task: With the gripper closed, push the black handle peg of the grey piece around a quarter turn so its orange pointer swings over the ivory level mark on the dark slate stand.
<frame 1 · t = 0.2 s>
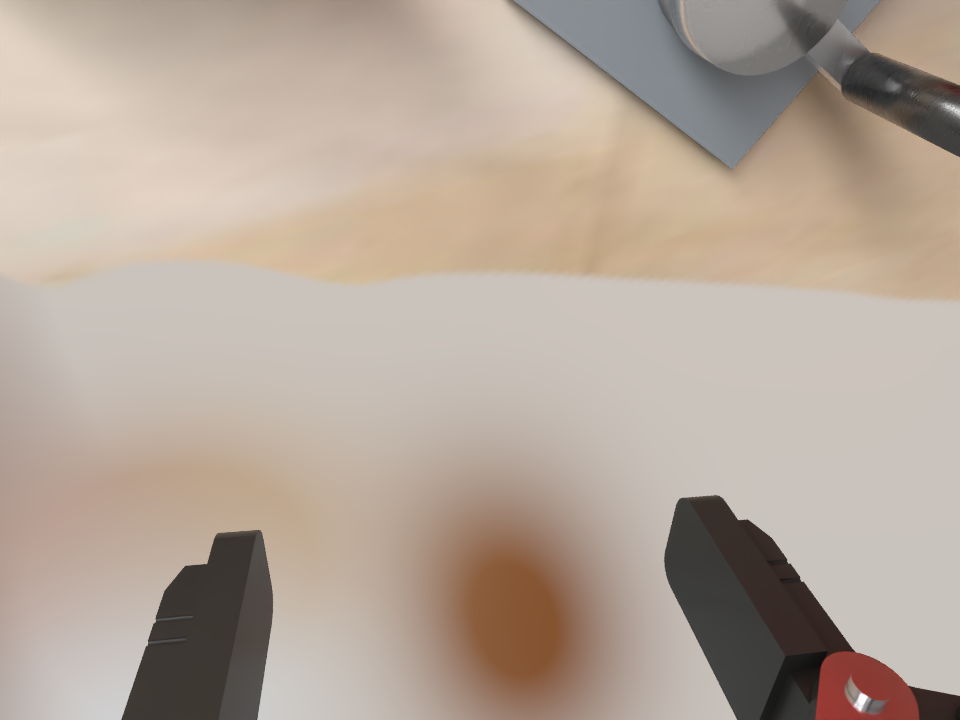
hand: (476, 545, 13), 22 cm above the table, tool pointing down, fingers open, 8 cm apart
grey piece: (812, 0, 21), point 8 cm above the table, hinge at 0.0°
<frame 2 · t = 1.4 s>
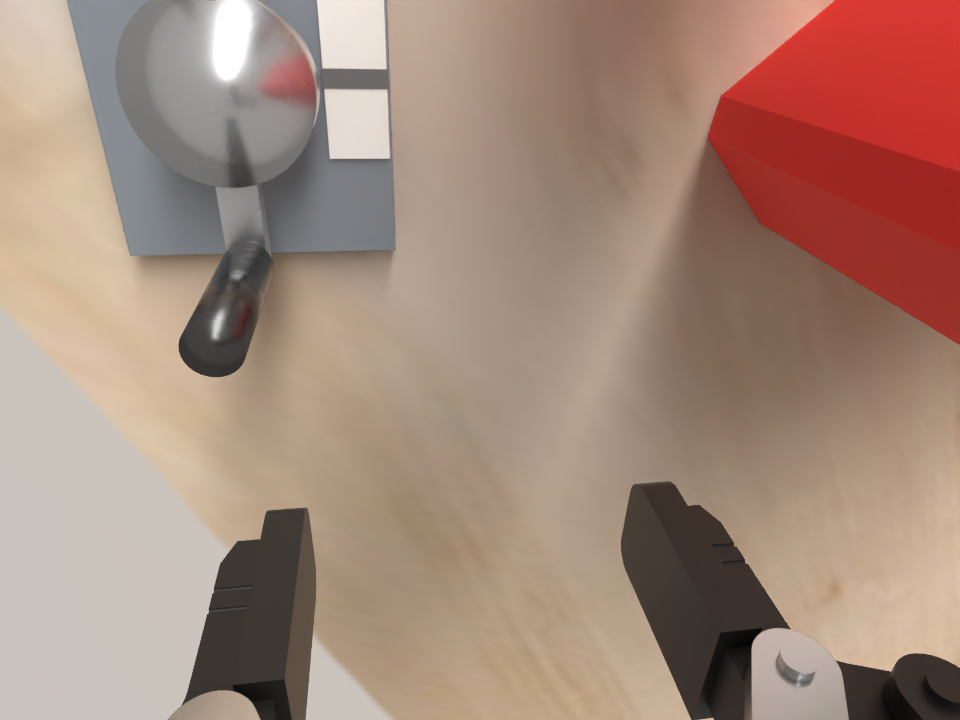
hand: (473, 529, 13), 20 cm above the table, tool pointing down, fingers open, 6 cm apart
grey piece: (207, 118, 19), point 8 cm above the table, hinge at 0.0°
stand: (248, 71, 26), on the table
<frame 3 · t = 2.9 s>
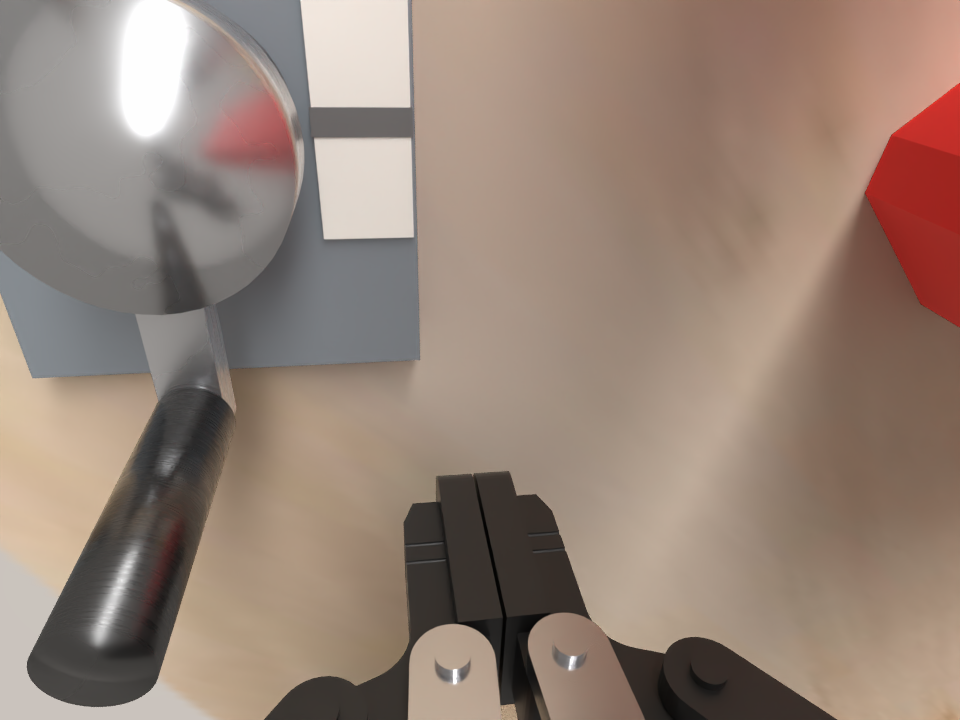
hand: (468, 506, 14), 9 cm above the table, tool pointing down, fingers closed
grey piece: (90, 224, 10), point 8 cm above the table, hinge at 0.0°
stand: (200, 109, 17), on the table
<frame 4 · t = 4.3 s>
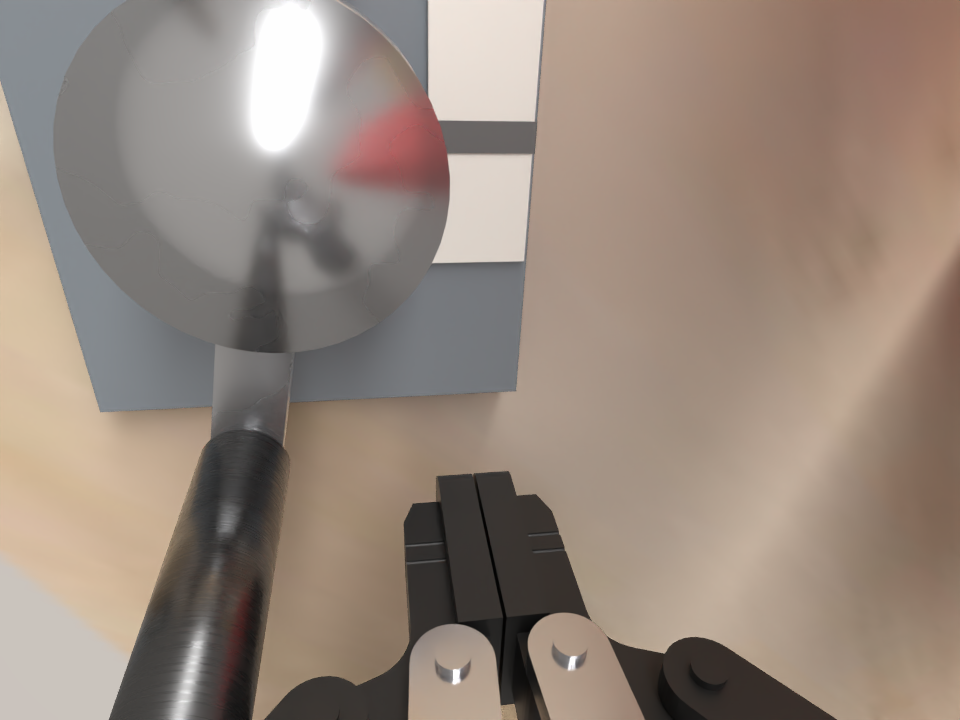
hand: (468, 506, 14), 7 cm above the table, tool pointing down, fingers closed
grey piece: (242, 257, 9), point 8 cm above the table, hinge at -11.0°, touching hand
stand: (296, 121, 16), on the table
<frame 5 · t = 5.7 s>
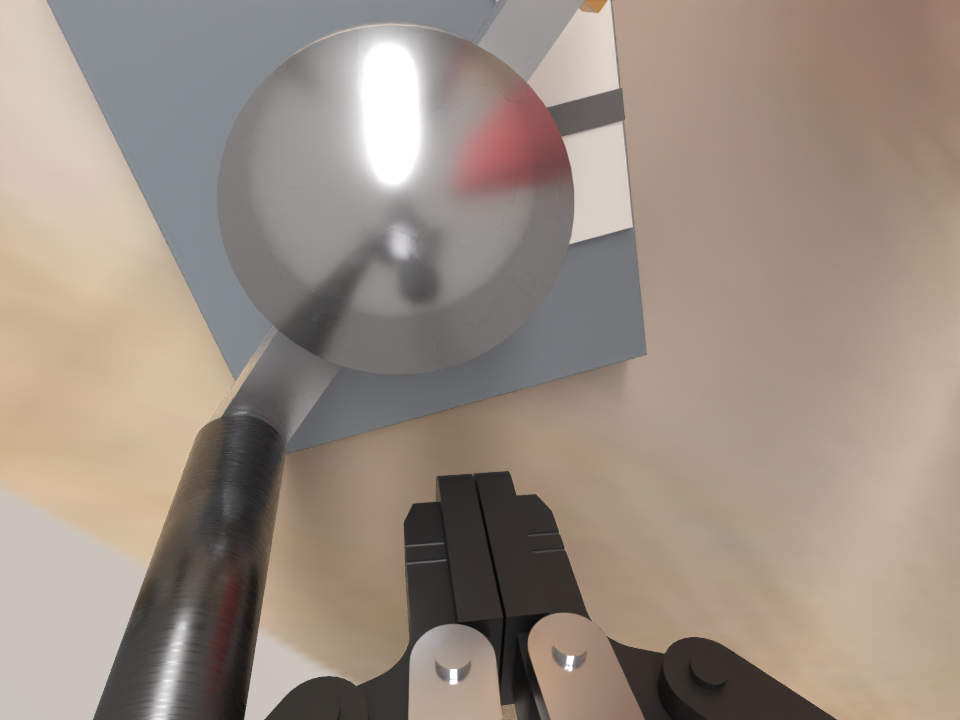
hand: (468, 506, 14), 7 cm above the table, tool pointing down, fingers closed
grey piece: (396, 287, 10), point 8 cm above the table, hinge at -49.3°, touching hand
stand: (389, 148, 16), on the table
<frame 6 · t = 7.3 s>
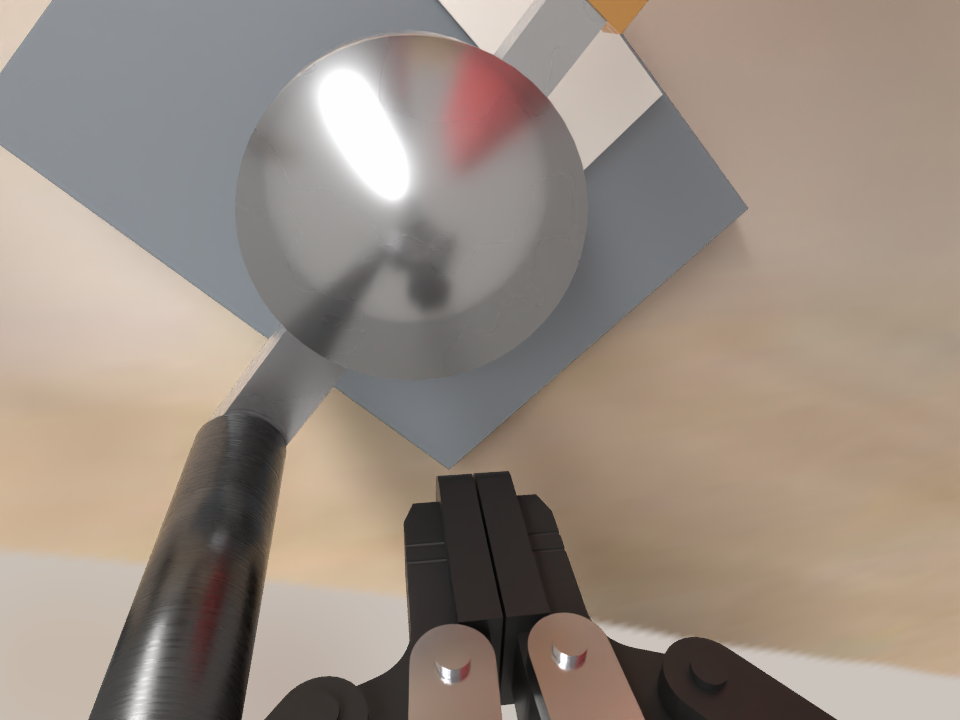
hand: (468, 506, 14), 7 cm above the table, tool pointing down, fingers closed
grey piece: (412, 293, 10), point 8 cm above the table, hinge at -83.1°, touching hand
stand: (401, 156, 16), on the table
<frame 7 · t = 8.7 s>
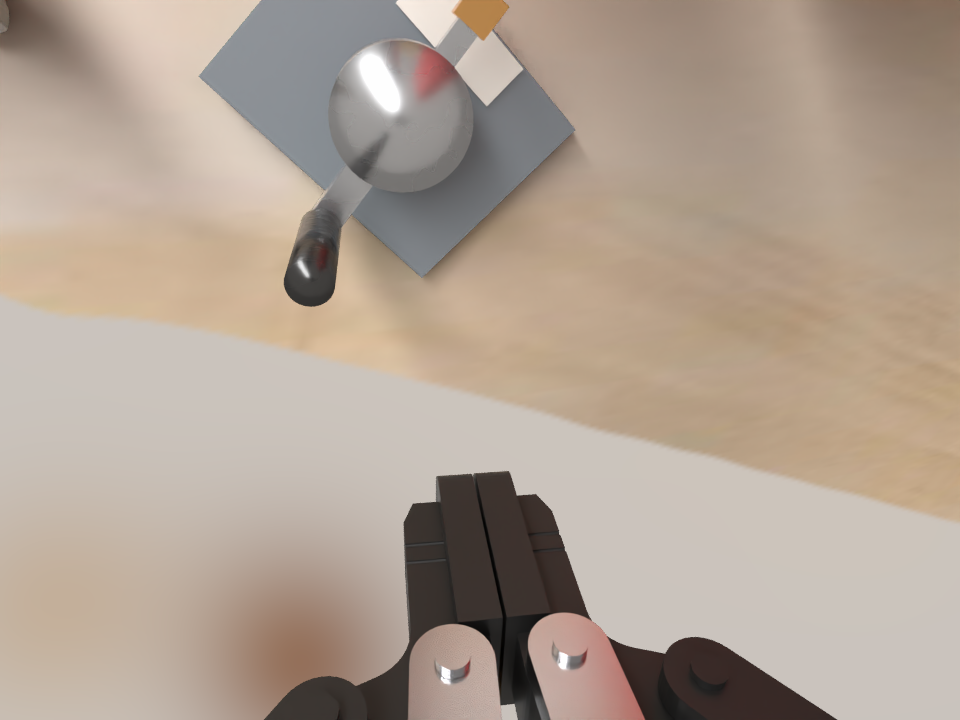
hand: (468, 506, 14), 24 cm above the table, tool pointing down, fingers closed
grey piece: (398, 137, 26), point 8 cm above the table, hinge at -83.2°
stand: (396, 100, 32), on the table
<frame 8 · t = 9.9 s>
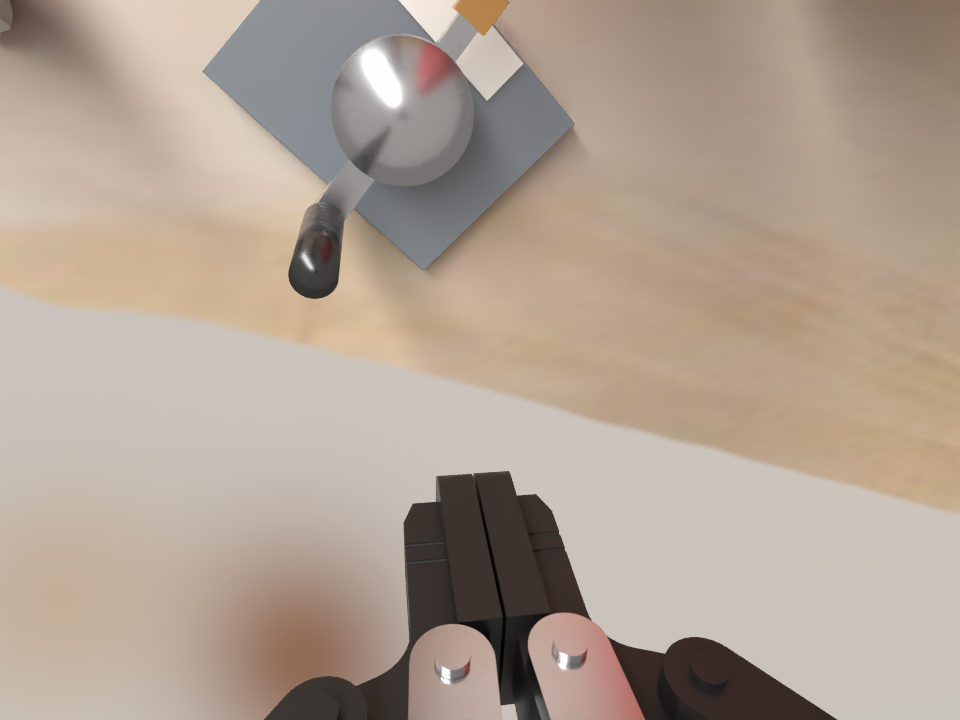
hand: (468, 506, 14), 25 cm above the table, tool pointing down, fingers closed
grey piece: (399, 132, 26), point 8 cm above the table, hinge at -83.2°
stand: (398, 94, 33), on the table
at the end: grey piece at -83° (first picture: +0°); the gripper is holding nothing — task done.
